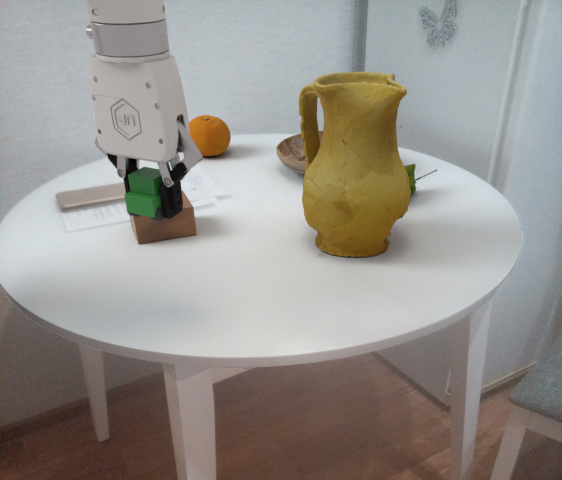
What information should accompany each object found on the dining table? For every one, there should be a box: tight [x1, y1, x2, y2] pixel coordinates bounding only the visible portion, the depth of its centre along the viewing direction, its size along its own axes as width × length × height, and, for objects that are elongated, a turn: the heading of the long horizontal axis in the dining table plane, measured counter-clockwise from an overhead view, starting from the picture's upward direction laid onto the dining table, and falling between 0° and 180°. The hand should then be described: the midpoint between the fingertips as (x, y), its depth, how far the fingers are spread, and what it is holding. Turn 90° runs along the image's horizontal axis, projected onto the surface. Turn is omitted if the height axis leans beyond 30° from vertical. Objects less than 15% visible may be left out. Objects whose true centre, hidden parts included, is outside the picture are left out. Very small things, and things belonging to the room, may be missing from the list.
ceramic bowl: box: [275, 130, 323, 176], centre depth 119 cm, size 23×24×5 cm
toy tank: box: [403, 163, 438, 194], centre depth 107 cm, size 7×19×10 cm
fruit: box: [189, 114, 232, 157], centre depth 127 cm, size 10×10×8 cm
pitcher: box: [298, 71, 412, 258], centre depth 87 cm, size 17×19×25 cm
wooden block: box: [128, 189, 197, 245], centre depth 96 cm, size 10×8×5 cm
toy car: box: [124, 166, 165, 222], centre depth 67 cm, size 6×4×5 cm
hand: (155, 209), depth 69 cm, fingers closed on toy car, 4 cm apart
